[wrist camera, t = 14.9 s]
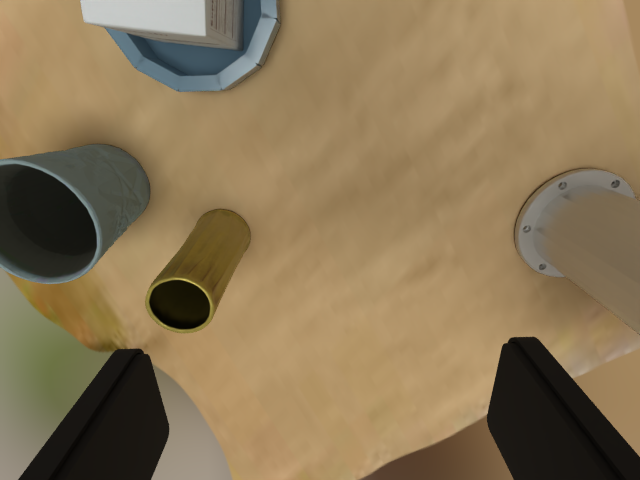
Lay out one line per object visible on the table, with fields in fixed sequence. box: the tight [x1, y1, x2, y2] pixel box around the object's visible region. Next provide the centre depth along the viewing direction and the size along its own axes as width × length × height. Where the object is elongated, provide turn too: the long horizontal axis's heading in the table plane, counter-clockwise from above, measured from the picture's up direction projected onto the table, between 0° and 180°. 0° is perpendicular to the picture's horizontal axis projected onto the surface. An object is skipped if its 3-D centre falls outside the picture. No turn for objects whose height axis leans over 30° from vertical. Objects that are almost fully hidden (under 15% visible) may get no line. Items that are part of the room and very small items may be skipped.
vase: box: [145, 209, 250, 333], centre depth 34 cm, size 6×6×14 cm
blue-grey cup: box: [0, 144, 150, 284], centre depth 33 cm, size 10×10×12 cm
